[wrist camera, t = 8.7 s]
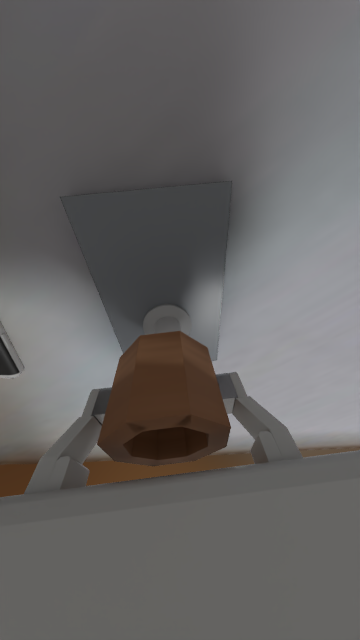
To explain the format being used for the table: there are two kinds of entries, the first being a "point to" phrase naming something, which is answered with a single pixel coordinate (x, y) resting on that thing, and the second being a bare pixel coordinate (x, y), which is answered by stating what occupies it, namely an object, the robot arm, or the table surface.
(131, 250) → the post stand
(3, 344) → the smartphone
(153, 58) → the table surface
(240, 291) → the table surface
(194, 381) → the ring
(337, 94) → the table surface
